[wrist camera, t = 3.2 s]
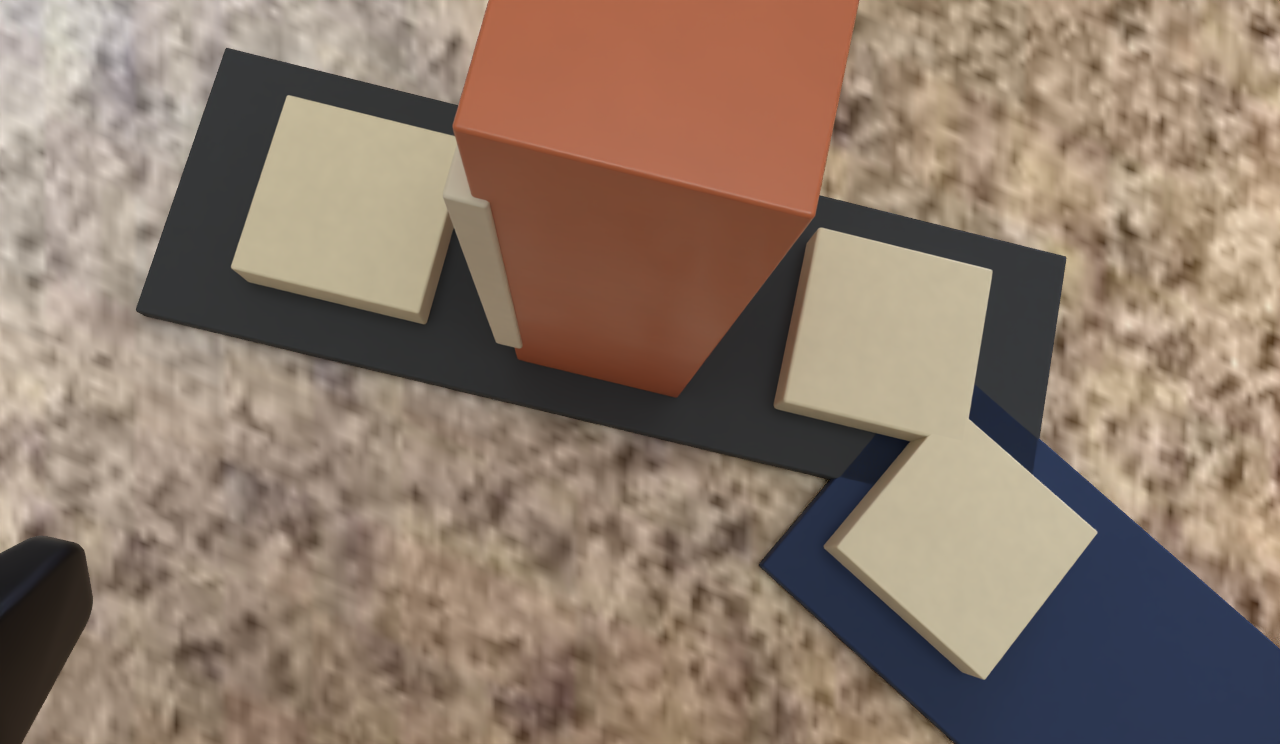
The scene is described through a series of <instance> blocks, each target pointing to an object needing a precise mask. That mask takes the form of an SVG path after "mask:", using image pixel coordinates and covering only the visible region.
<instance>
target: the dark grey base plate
mask: <svg viewBox="0 0 1280 744" xmlns="http://www.w3.org/2000/svg"><path fill="white" fill-rule="evenodd" d="M457 108H458V105H454V104H450V103H446V102H442V101H438V100H434V99H430V98H426V97H422V96H418V95H414V94H410V93H406V92H402V91H398V90H394V89H390V88H386V87H382V86H378V85H374V84H370V83H366V82H362V81H358V80H354V79H350V78H346V77H342V76H338V75H334V74H330V73H326V72H322V71H318V70H314V69H310V68H306V67H302V66H298V65H294V64H290V63H286V62H282V61H277V60H273V59H269V58H265V57H261V56H257V55H253V54H249V53H245V52H241V51H237V50H233V49H229V48H226V49H225V52H224V55H223V58H222V61H221V64H220V67H219V69H218V72H217V75H216V78H215V81H214V84H213V87H212V90H211V93H210V96H209V98H208V101H207V104H206V107H205V110H204V113H203V116H202V119H201V122H200V125H199V128H198V130H197V133H196V136H195V139H194V142H193V145H192V148H191V151H190V154H189V157H188V159H187V162H186V165H185V168H184V171H183V174H182V177H181V180H180V183H179V186H178V188H177V191H176V194H175V197H174V200H173V203H172V206H171V209H170V212H169V215H168V217H167V220H166V223H165V226H164V229H163V232H162V235H161V238H160V241H159V244H158V247H157V249H156V252H155V255H154V258H153V261H152V264H151V267H150V270H149V273H148V276H147V278H146V281H145V284H144V287H143V290H142V293H141V296H140V299H139V302H138V305H137V307H136V311H137V312H139V313H141V314H143V315H144V316H148V317H152V318H156V319H161V320H165V321H169V322H173V323H177V324H182V325H186V326H190V327H194V328H198V329H202V330H207V331H211V332H215V333H219V334H223V335H228V336H232V337H236V338H240V339H244V340H248V341H253V342H257V343H261V344H265V345H269V346H274V347H278V348H282V349H286V350H290V351H295V352H299V353H303V354H307V355H311V356H315V357H320V358H324V359H328V360H332V361H336V362H341V363H345V364H349V365H353V366H357V367H361V368H366V369H370V370H374V371H378V372H382V373H387V374H391V375H395V376H399V377H403V378H407V379H412V380H416V381H420V382H424V383H428V384H433V385H437V386H441V387H445V388H449V389H453V390H458V391H462V392H466V393H470V394H474V395H479V396H483V397H487V398H491V399H495V400H499V401H504V402H508V403H512V404H516V405H520V406H525V407H529V408H533V409H537V410H541V411H545V412H550V413H554V414H558V415H562V416H566V417H571V418H575V419H579V420H583V421H587V422H591V423H596V424H600V425H604V426H608V427H612V428H617V429H621V430H625V431H629V432H633V433H638V434H642V435H646V436H650V437H654V438H658V439H663V440H667V441H671V442H675V443H679V444H684V445H688V446H692V447H696V448H700V449H704V450H709V451H713V452H717V453H721V454H725V455H730V456H734V457H738V458H742V459H746V460H750V461H755V462H759V463H763V464H767V465H771V466H776V467H780V468H784V469H788V470H792V471H796V472H801V473H805V474H809V475H813V476H817V477H822V478H826V479H830V480H831V479H835V478H838V477H840V476H841V475H843V473H847V472H846V471H847V470H846V469H848V467H849V466H850V465H851V463H852V462H853V463H854V462H855V463H856V460H855V459H856V458H857V456H860V455H862V454H860V453H861V452H862V453H863V451H864V450H865V449H866V448H865V447H866V446H867V444H868V443H869V442H870V441H871V440H872V439H873V437H875V435H876V434H878V435H880V434H881V435H880V436H882V435H884V437H885V436H887V437H888V436H889V437H891V438H892V437H894V438H897V439H896V441H895V440H894V441H895V443H897V440H898V439H902V440H903V441H904V440H905V442H906V441H915V440H918V439H921V438H925V437H927V436H929V435H931V434H936V435H940V436H944V437H949V438H953V439H957V440H961V441H963V439H962V438H963V434H964V428H965V424H964V423H965V422H966V418H968V419H969V413H972V412H970V410H971V408H970V407H972V409H973V406H972V405H971V401H973V400H974V399H973V397H972V395H974V393H973V392H974V391H975V389H974V387H975V385H976V386H977V389H978V387H979V388H980V389H981V390H982V391H983V392H984V394H987V395H986V396H989V397H990V398H991V400H993V401H994V402H996V403H997V406H1000V409H1001V408H1003V409H1004V410H1005V411H1006V412H1007V415H1008V414H1009V415H1011V417H1013V419H1014V420H1016V421H1014V420H1012V419H1011V421H1013V422H1012V423H1014V422H1018V423H1020V425H1022V427H1023V428H1025V429H1027V430H1028V431H1029V432H1030V434H1032V435H1033V436H1035V437H1033V436H1032V435H1031V436H1032V437H1033V438H1034V439H1035V438H1037V439H1035V440H1037V441H1038V439H1039V438H1040V431H1041V424H1042V418H1043V411H1044V404H1045V397H1046V391H1047V384H1048V377H1049V371H1050V364H1051V357H1052V351H1053V344H1054V337H1055V331H1056V324H1057V317H1058V310H1059V304H1060V297H1061V290H1062V284H1063V277H1064V270H1065V264H1066V257H1065V256H1061V255H1057V254H1053V253H1049V252H1045V251H1041V250H1037V249H1033V248H1029V247H1025V246H1021V245H1017V244H1013V243H1009V242H1005V241H1001V240H997V239H993V238H989V237H985V236H981V235H977V234H973V233H969V232H965V231H961V230H957V229H953V228H949V227H945V226H941V225H937V224H933V223H929V222H925V221H921V220H917V219H912V218H908V217H904V216H900V215H896V214H892V213H888V212H884V211H880V210H876V209H872V208H868V207H864V206H860V205H856V204H852V203H848V202H844V201H840V200H836V199H832V198H828V197H824V196H820V195H819V199H818V204H817V209H816V214H815V217H814V218H813V219H812V221H811V222H810V223H809V225H808V226H807V227H806V229H805V230H804V231H803V233H802V234H801V235H800V237H799V238H798V239H797V240H796V242H795V243H794V244H793V246H792V247H791V248H790V250H789V251H788V252H787V254H786V255H785V256H784V258H783V259H782V260H781V262H780V263H779V264H778V266H777V267H776V268H775V269H774V271H773V272H772V273H771V275H770V276H769V277H768V279H767V280H766V281H765V283H764V284H763V285H762V287H761V288H760V289H759V291H758V292H757V293H756V295H755V296H754V297H753V298H752V300H751V301H750V302H749V304H748V305H747V306H746V308H745V309H744V310H743V312H742V313H741V314H740V316H739V317H738V318H737V320H736V321H735V322H734V324H733V325H732V326H731V327H730V329H729V330H728V331H727V333H726V334H725V335H724V337H723V338H722V339H721V341H720V342H719V343H718V345H717V346H716V347H715V349H714V350H713V351H712V353H711V354H710V355H709V356H708V358H707V359H706V360H705V362H704V363H703V364H702V366H701V367H700V368H699V370H698V371H697V372H696V374H695V375H694V376H693V378H692V379H691V380H690V382H689V383H688V384H687V385H686V387H685V388H684V389H683V391H682V392H681V393H680V395H679V396H678V397H677V398H675V397H671V396H667V395H662V394H658V393H654V392H650V391H646V390H642V389H638V388H633V387H629V386H625V385H621V384H617V383H613V382H608V381H604V380H600V379H596V378H592V377H588V376H583V375H579V374H575V373H571V372H567V371H563V370H559V369H554V368H550V367H546V366H542V365H538V364H534V363H529V362H525V361H521V360H518V359H517V355H516V352H515V348H514V347H510V346H506V345H502V344H498V343H496V341H495V338H494V335H493V333H492V330H491V327H490V325H489V322H488V319H487V316H486V314H485V311H484V308H483V305H482V303H481V300H480V297H479V294H478V292H477V289H476V286H475V284H474V281H473V278H472V275H471V273H470V270H469V267H468V264H467V262H466V259H465V256H464V253H463V251H462V248H461V245H460V243H459V240H458V237H457V234H456V232H455V229H454V226H453V223H452V221H451V218H450V215H449V213H448V210H447V207H446V204H445V202H444V199H443V191H444V187H445V184H446V180H447V177H448V173H449V170H450V166H451V163H452V159H453V156H454V152H455V149H456V145H457V142H456V138H455V135H454V131H453V122H454V119H455V115H456V112H457ZM974 384H975V385H974ZM975 388H976V387H975ZM973 389H974V391H973ZM977 389H976V390H977ZM977 392H978V391H977ZM979 392H980V391H979ZM977 394H978V393H977ZM979 395H980V394H979ZM979 395H976V397H977V396H978V397H979ZM978 397H977V399H978ZM979 398H981V397H979ZM972 399H973V400H972ZM975 399H976V398H975ZM987 399H988V398H987ZM982 400H983V399H982ZM984 400H985V399H984ZM984 400H983V401H984ZM991 400H990V402H991ZM988 401H989V400H988ZM977 402H979V400H978V401H977ZM990 402H989V404H992V403H990ZM994 402H993V403H994ZM985 403H986V402H985ZM996 403H995V405H996ZM973 404H974V402H973ZM975 404H976V403H975ZM977 404H978V403H977ZM983 404H984V403H982V404H981V406H982V405H983ZM989 404H987V405H989ZM979 406H980V405H979ZM979 406H978V405H977V407H979ZM991 406H992V405H991ZM991 406H990V407H991ZM997 406H996V407H997ZM975 407H976V406H975ZM975 407H974V408H975ZM984 407H985V408H986V405H985V406H984ZM992 407H993V406H992ZM996 407H995V408H996ZM980 408H981V407H980ZM980 408H979V409H980ZM986 409H987V408H986ZM991 410H992V408H991ZM995 410H996V409H995ZM997 410H998V408H997ZM971 411H972V410H971ZM973 411H975V409H974V410H973ZM981 411H983V410H980V412H981ZM989 411H990V410H989ZM989 411H988V412H989ZM993 411H994V409H993ZM999 411H1000V410H999ZM978 412H979V411H978ZM983 412H984V411H983ZM986 412H987V411H986ZM981 413H982V412H981ZM989 413H991V411H990V412H989ZM989 413H988V414H989ZM995 413H996V412H995ZM983 414H984V413H983ZM988 414H987V415H988ZM996 414H997V413H996ZM1002 414H1003V410H1002V413H1001V415H1002ZM972 415H973V413H972V414H971V416H972ZM975 415H976V416H977V415H978V414H976V413H975ZM980 415H982V414H980ZM999 415H1000V414H999ZM1003 415H1004V414H1003ZM1009 415H1008V416H1009ZM983 416H984V415H983ZM985 416H986V414H985ZM995 416H996V415H995ZM1005 416H1006V415H1005ZM952 417H953V418H952ZM973 417H974V416H973ZM978 417H979V418H980V417H981V416H977V418H978ZM986 417H988V418H989V416H986ZM990 417H992V416H990ZM974 418H975V417H974ZM983 418H984V417H983ZM988 418H987V419H988ZM996 418H997V416H996ZM1002 418H1003V416H1002ZM947 419H948V420H947ZM972 419H973V418H972ZM975 419H976V418H975ZM980 419H982V418H980ZM980 419H979V420H980ZM992 419H993V418H991V420H992ZM1006 419H1007V418H1006ZM1006 419H1005V420H1006ZM993 420H995V417H994V419H993ZM1007 420H1008V419H1007ZM976 421H978V420H976ZM989 421H990V420H989ZM1001 421H1002V419H1001ZM1008 421H1009V422H1010V420H1008ZM986 422H988V420H987V421H986ZM995 422H996V421H995ZM1006 422H1007V421H1005V423H1002V422H1001V424H1005V425H1006ZM980 423H981V422H980ZM982 423H983V422H982ZM992 423H993V421H992ZM1007 423H1008V422H1007ZM978 424H979V422H978ZM989 424H990V423H989ZM997 424H999V423H998V422H997ZM997 424H996V425H997ZM1014 424H1015V423H1014ZM976 425H977V424H976ZM983 425H984V424H983ZM985 425H987V424H986V423H985ZM1007 425H1009V424H1007ZM1010 425H1011V424H1010ZM1015 425H1016V424H1015ZM1018 425H1019V424H1018ZM1020 425H1019V426H1020ZM978 426H979V427H980V424H979V425H978ZM987 426H988V425H987ZM989 426H990V425H989ZM989 426H988V427H989ZM997 426H998V425H997ZM997 426H995V427H997ZM999 426H1001V425H1000V424H999ZM999 426H998V427H999ZM1013 426H1014V425H1013ZM1016 426H1017V425H1016ZM985 427H986V426H985ZM993 427H994V425H993ZM995 427H994V428H991V429H994V430H995ZM1002 427H1003V429H1005V428H1004V426H1003V425H1002ZM1006 427H1007V426H1006ZM1011 427H1012V425H1011ZM980 428H984V427H980ZM986 428H987V427H986ZM1009 428H1010V427H1009ZM1009 428H1008V429H1007V430H1008V433H1009ZM1012 428H1013V430H1012V431H1014V430H1015V429H1017V428H1018V427H1017V428H1015V429H1014V427H1012ZM1020 428H1021V426H1020ZM1023 428H1022V429H1023ZM1003 429H1002V428H1001V430H1003ZM1022 429H1020V430H1021V431H1022ZM983 430H984V429H983ZM987 430H990V427H989V429H987ZM987 430H986V431H987ZM996 430H998V429H996ZM1020 430H1019V431H1020ZM1027 430H1026V431H1027ZM986 431H985V432H986ZM1004 431H1005V430H1004ZM1012 431H1010V432H1012ZM983 432H984V431H983ZM985 432H984V433H985ZM989 433H990V431H989ZM992 433H993V432H991V434H992ZM1002 433H1003V434H1004V435H1005V434H1006V433H1005V432H1002ZM1002 433H1001V435H1002ZM1016 433H1017V431H1016ZM1026 433H1027V432H1026ZM986 434H987V433H986ZM995 434H996V433H995ZM997 434H998V433H997ZM997 434H996V435H997ZM1011 434H1012V433H1011ZM1018 434H1019V433H1018ZM1024 434H1025V433H1024ZM1024 434H1021V435H1024ZM878 435H877V436H876V437H875V438H878ZM987 435H989V434H987ZM1008 435H1009V434H1007V435H1005V436H1008ZM1013 435H1014V433H1013V434H1012V436H1013ZM1026 435H1027V434H1026ZM993 436H995V435H993ZM998 436H1000V433H999V435H998ZM1019 436H1020V435H1019ZM1019 436H1017V437H1019ZM1024 436H1025V435H1024ZM1031 436H1030V437H1029V438H1030V439H1031ZM882 437H883V436H882ZM884 437H883V439H884ZM889 437H888V438H889ZM996 437H997V436H996ZM1001 437H1003V435H1002V436H1000V438H1001ZM1022 437H1023V436H1021V438H1022ZM894 438H893V439H894ZM994 438H995V437H994ZM994 438H993V439H994ZM1000 438H999V439H1000ZM1006 438H1008V437H1006ZM1012 438H1013V437H1012ZM1014 438H1015V436H1014ZM1014 438H1013V439H1014ZM1029 438H1027V439H1028V440H1029ZM879 439H880V438H879ZM991 439H992V437H991ZM1003 439H1005V438H1003ZM1022 439H1025V438H1022ZM875 440H876V439H875ZM875 440H874V439H873V441H874V442H875ZM997 440H998V437H997ZM1010 440H1011V442H1013V441H1012V439H1010ZM1016 440H1017V439H1016ZM1016 440H1015V442H1016ZM1028 440H1027V441H1028ZM873 441H872V442H873ZM876 441H877V440H876ZM878 441H880V440H878ZM881 441H882V440H881ZM881 441H880V442H881ZM886 441H887V442H889V441H890V440H889V441H888V440H885V442H886ZM900 441H901V440H900ZM903 441H901V442H900V443H902V442H903ZM994 441H995V442H996V443H998V442H997V441H996V439H995V440H994ZM1006 441H1007V440H1006ZM1018 441H1019V439H1018ZM1020 441H1021V440H1020ZM1020 441H1019V442H1020ZM1031 441H1032V440H1031ZM887 442H886V443H885V444H882V443H881V444H882V445H884V446H883V448H884V447H885V448H886V446H887V447H888V445H886V444H887ZM892 442H893V441H892ZM1007 442H1008V441H1007ZM1021 442H1022V441H1021ZM883 443H884V442H883ZM889 443H890V442H889ZM895 443H894V445H895ZM906 443H907V442H906ZM909 443H910V442H909ZM1001 443H1002V441H1001ZM1001 443H998V444H1001ZM1008 443H1009V444H1011V443H1010V442H1008ZM1017 443H1018V442H1017ZM1022 443H1023V442H1022ZM1024 443H1025V442H1024ZM1029 443H1030V442H1029ZM1029 443H1028V445H1030V444H1031V443H1032V442H1031V443H1030V444H1029ZM1035 443H1036V441H1035ZM1035 443H1034V444H1035ZM869 444H870V443H869ZM874 444H875V443H874ZM877 444H878V443H877ZM881 444H880V443H879V445H880V448H881ZM890 444H891V443H890ZM897 444H898V443H897ZM902 444H903V443H902ZM1002 444H1003V445H1004V444H1005V443H1002ZM1002 444H1001V446H1002ZM1015 444H1016V443H1015ZM1019 444H1020V443H1019ZM1019 444H1018V445H1019ZM1026 444H1027V443H1026ZM1026 444H1025V445H1026ZM1034 444H1033V443H1032V445H1033V446H1034ZM871 445H872V444H871ZM875 445H876V444H875ZM879 445H878V446H879ZM885 445H886V446H885ZM891 445H892V444H891ZM899 445H900V444H899ZM904 445H905V444H904ZM904 445H903V446H904ZM907 445H908V443H907ZM1005 445H1006V446H1007V443H1006V444H1005ZM1012 445H1013V444H1012ZM1012 445H1011V447H1012ZM1020 445H1021V444H1020ZM869 446H870V445H869ZM876 446H877V445H876ZM876 446H875V448H876ZM905 446H906V445H905ZM999 446H1000V445H999ZM1006 446H1005V447H1006ZM1021 446H1022V445H1021ZM1026 446H1027V445H1026ZM871 447H872V448H873V446H870V448H871ZM897 447H898V446H897ZM1018 447H1019V446H1018ZM1034 447H1035V446H1034ZM1034 447H1033V449H1032V450H1033V451H1034ZM870 448H867V449H869V450H870ZM875 448H873V449H872V450H874V451H875ZM877 448H878V447H877ZM889 448H890V449H891V447H889ZM899 448H900V446H899V447H898V449H899ZM1003 448H1004V446H1003ZM1006 448H1008V447H1006ZM1006 448H1005V449H1006ZM1022 448H1023V447H1022ZM1027 448H1028V447H1027ZM1027 448H1026V449H1027ZM1030 448H1031V447H1030ZM1035 448H1037V447H1035ZM863 449H864V450H863ZM892 449H893V448H892ZM892 449H891V450H892ZM900 449H901V448H900ZM900 449H899V450H900ZM1005 449H1004V450H1005ZM1008 449H1009V448H1008ZM1013 449H1014V448H1013ZM1015 449H1016V447H1015ZM862 450H863V451H862ZM872 450H870V452H871V451H872ZM885 450H886V449H885ZM903 450H904V448H903ZM1010 450H1011V449H1010ZM1020 450H1021V452H1022V449H1021V448H1020ZM1032 450H1031V451H1032ZM867 451H868V450H867ZM887 451H888V450H887ZM887 451H886V452H887ZM897 451H898V450H897ZM897 451H896V448H895V452H897ZM1008 451H1009V450H1008ZM1014 451H1015V450H1014ZM1014 451H1013V452H1014ZM1016 451H1018V450H1017V449H1016ZM1024 451H1025V452H1026V450H1025V449H1024ZM1029 451H1030V450H1029ZM1031 451H1030V453H1031ZM875 452H877V451H875ZM875 452H873V458H874V459H875V457H879V455H878V456H877V455H875V454H874V453H875ZM881 452H882V451H881ZM881 452H878V453H879V454H880V453H881ZM886 452H885V453H886ZM898 452H899V451H898ZM1021 452H1019V451H1018V454H1019V453H1021ZM1027 452H1028V451H1027ZM865 453H866V452H865ZM868 453H869V452H868ZM871 453H872V452H871ZM883 453H884V451H883V452H882V454H883ZM893 453H894V450H893ZM900 453H901V452H900ZM1008 453H1009V452H1008ZM1010 453H1011V452H1010ZM1030 453H1029V455H1028V457H1029V456H1030V455H1031V454H1030ZM1034 453H1036V452H1035V451H1034ZM869 454H870V453H869ZM882 454H881V456H882ZM887 454H888V453H887ZM889 454H892V453H890V452H889ZM889 454H888V455H889ZM898 454H899V453H898ZM1014 454H1015V452H1014ZM1014 454H1011V455H1014ZM1021 454H1022V453H1021ZM1021 454H1020V455H1021ZM863 455H864V453H863ZM874 455H875V457H874ZM893 455H894V454H893ZM896 455H897V454H896ZM899 455H900V454H899ZM899 455H898V456H899ZM1020 455H1019V456H1020ZM1022 455H1023V456H1025V455H1024V454H1022ZM1022 455H1021V456H1022ZM865 456H869V455H865ZM881 456H880V457H881ZM883 456H885V455H883ZM883 456H882V457H883ZM891 456H892V455H891ZM1014 456H1015V455H1014ZM1031 456H1033V455H1031ZM860 457H861V458H860V460H858V461H861V459H862V458H863V457H862V456H860ZM870 457H871V456H870ZM870 457H869V458H870ZM880 457H879V458H878V460H879V459H880ZM882 457H881V458H882ZM888 457H890V455H889V456H887V459H885V460H888V459H889V458H888ZM892 457H893V456H892ZM892 457H891V459H892ZM1015 457H1016V456H1015ZM1034 457H1035V456H1034ZM864 458H865V457H864ZM883 458H884V457H883ZM1023 458H1024V457H1023ZM1025 458H1026V457H1025ZM1025 458H1024V459H1025ZM857 459H859V458H857ZM865 459H866V458H865ZM867 459H868V457H867ZM867 459H866V460H865V461H866V462H865V461H864V459H862V460H863V461H864V462H865V463H866V464H868V462H869V461H867ZM871 459H872V457H871ZM1014 459H1015V458H1014ZM1016 459H1019V458H1017V457H1016ZM1021 459H1022V458H1021ZM1029 459H1031V458H1030V457H1029ZM1029 459H1028V460H1029ZM1033 459H1035V458H1033ZM854 460H855V461H854ZM868 460H870V459H868ZM878 460H877V461H878ZM880 460H881V461H882V462H883V460H882V459H880ZM1022 460H1023V459H1022ZM1025 460H1026V461H1027V459H1025ZM858 461H857V464H858ZM873 461H874V460H873ZM888 461H890V459H889V460H888ZM893 461H894V459H893ZM1016 461H1017V460H1016ZM1018 461H1020V460H1018ZM1029 461H1030V460H1029ZM1029 461H1028V462H1026V463H1027V464H1028V463H1029ZM1031 461H1032V459H1031ZM1034 461H1035V460H1034ZM875 462H876V459H875ZM882 462H881V463H882ZM890 462H891V461H890ZM1021 462H1022V461H1021ZM1023 462H1025V461H1023ZM853 463H852V464H853ZM877 463H880V462H877ZM883 463H885V462H883ZM887 463H888V462H887ZM892 463H893V462H891V464H892ZM1032 463H1033V462H1032ZM859 464H861V462H859ZM869 464H870V462H869ZM1027 464H1026V465H1027ZM853 465H854V464H853ZM853 465H852V466H853ZM855 465H856V464H855ZM861 465H862V464H861ZM873 465H874V464H873ZM875 465H876V463H875ZM875 465H874V466H875ZM881 465H882V464H881ZM884 465H886V464H884ZM884 465H883V467H884ZM1029 465H1030V464H1029ZM1031 465H1032V464H1031ZM1033 465H1034V463H1033ZM1033 465H1032V466H1033ZM862 466H863V465H862ZM865 466H866V465H865ZM865 466H864V467H865ZM867 466H868V467H869V465H867ZM870 466H871V464H870ZM879 466H880V465H879ZM879 466H878V465H877V467H878V468H880V467H881V466H880V467H879ZM850 467H851V466H850ZM850 467H849V468H850ZM864 467H863V470H864V471H865V470H868V467H866V468H867V469H864ZM877 467H875V468H877ZM883 467H882V468H883ZM885 467H886V466H885ZM885 467H884V468H885ZM887 467H888V468H889V465H887ZM1029 467H1030V466H1029ZM855 468H856V467H855ZM857 468H858V466H857ZM1025 468H1027V467H1025ZM853 469H854V467H853ZM873 469H874V468H872V466H871V470H872V471H873ZM880 469H881V468H880ZM1030 469H1031V472H1032V467H1031V468H1030ZM845 470H846V471H845ZM849 470H850V469H849ZM857 470H859V468H858V469H857ZM869 470H870V468H869ZM875 470H876V469H875ZM875 470H874V472H875ZM886 470H887V469H886V468H885V471H886ZM852 471H853V473H854V470H852ZM859 471H860V470H859ZM880 471H881V470H880ZM883 471H884V469H883ZM1028 471H1030V470H1029V469H1028ZM850 472H851V471H850ZM857 472H858V471H857ZM860 472H861V474H862V469H861V471H860ZM867 472H868V473H869V472H870V471H867ZM851 473H852V472H851ZM851 473H850V474H851ZM855 473H856V472H855ZM855 473H854V474H855ZM858 473H859V472H858ZM863 473H864V472H863ZM879 473H880V472H879ZM882 473H883V472H882ZM848 474H849V471H848ZM848 474H847V475H848ZM850 474H849V476H850ZM864 474H865V473H864ZM872 474H874V473H873V472H872ZM876 474H877V473H876ZM876 474H875V475H876ZM883 474H884V473H883ZM883 474H882V475H883ZM855 475H856V474H855ZM855 475H854V476H855ZM858 475H859V474H858ZM866 475H867V474H866ZM868 475H869V474H868ZM870 475H871V474H870ZM875 475H874V476H875ZM880 475H881V474H880ZM845 476H846V475H845ZM856 476H857V475H856ZM860 476H861V475H860ZM862 476H863V474H862ZM864 476H865V475H864ZM874 476H873V477H874ZM843 477H844V475H843ZM843 477H842V478H843ZM847 477H848V476H847ZM852 477H853V475H852V476H851V478H852ZM858 477H859V476H858ZM868 477H869V476H868ZM868 477H867V480H865V479H866V478H865V479H864V478H863V477H862V478H863V479H864V480H865V483H866V482H868ZM880 477H881V476H880ZM848 478H849V477H848ZM859 478H860V477H859ZM869 478H870V477H869ZM877 478H878V476H877ZM856 479H857V478H855V479H854V480H855V481H856ZM872 479H873V480H874V478H872ZM852 480H853V479H852ZM870 480H871V478H870ZM858 481H859V479H858ZM871 481H872V480H871ZM860 482H863V481H860ZM874 482H875V481H874ZM868 483H869V482H868ZM869 484H871V483H869ZM872 485H873V484H872Z"/></svg>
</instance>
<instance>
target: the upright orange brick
mask: <svg viewBox="0 0 1280 744" xmlns="http://www.w3.org/2000/svg"><path fill="white" fill-rule="evenodd" d="M858 4H859V0H489V1H488V4H487V8H486V11H485V15H484V18H483V22H482V25H481V29H480V32H479V36H478V39H477V42H476V46H475V49H474V53H473V56H472V60H471V63H470V67H469V70H468V74H467V77H466V81H465V84H464V88H463V91H462V94H461V98H460V101H459V105H458V108H457V112H456V115H455V119H454V122H453V131H454V135H455V138H456V142H457V145H456V149H455V152H454V156H453V159H452V163H451V166H450V170H449V173H448V177H447V180H446V184H445V187H444V191H443V199H444V202H445V204H446V207H447V210H448V213H449V215H450V218H451V221H452V223H453V226H454V229H455V232H456V234H457V237H458V240H459V243H460V245H461V248H462V251H463V253H464V256H465V259H466V262H467V264H468V267H469V270H470V273H471V275H472V278H473V281H474V284H475V286H476V289H477V292H478V294H479V297H480V300H481V303H482V305H483V308H484V311H485V314H486V316H487V319H488V322H489V325H490V327H491V330H492V333H493V335H494V338H495V341H496V343H498V344H502V345H506V346H510V347H514V348H515V352H516V355H517V359H518V360H521V361H525V362H529V363H534V364H538V365H542V366H546V367H550V368H554V369H559V370H563V371H567V372H571V373H575V374H579V375H583V376H588V377H592V378H596V379H600V380H604V381H608V382H613V383H617V384H621V385H625V386H629V387H633V388H638V389H642V390H646V391H650V392H654V393H658V394H662V395H667V396H671V397H675V398H677V397H678V396H679V395H680V393H681V392H682V391H683V389H684V388H685V387H686V385H687V384H688V383H689V382H690V380H691V379H692V378H693V376H694V375H695V374H696V372H697V371H698V370H699V368H700V367H701V366H702V364H703V363H704V362H705V360H706V359H707V358H708V356H709V355H710V354H711V353H712V351H713V350H714V349H715V347H716V346H717V345H718V343H719V342H720V341H721V339H722V338H723V337H724V335H725V334H726V333H727V331H728V330H729V329H730V327H731V326H732V325H733V324H734V322H735V321H736V320H737V318H738V317H739V316H740V314H741V313H742V312H743V310H744V309H745V308H746V306H747V305H748V304H749V302H750V301H751V300H752V298H753V297H754V296H755V295H756V293H757V292H758V291H759V289H760V288H761V287H762V285H763V284H764V283H765V281H766V280H767V279H768V277H769V276H770V275H771V273H772V272H773V271H774V269H775V268H776V267H777V266H778V264H779V263H780V262H781V260H782V259H783V258H784V256H785V255H786V254H787V252H788V251H789V250H790V248H791V247H792V246H793V244H794V243H795V242H796V240H797V239H798V238H799V237H800V235H801V234H802V233H803V231H804V230H805V229H806V227H807V226H808V225H809V223H810V222H811V221H812V219H813V218H814V217H815V214H816V209H817V204H818V199H819V195H820V190H821V185H822V180H823V175H824V170H825V165H826V160H827V156H828V151H829V146H830V141H831V136H832V131H833V126H834V121H835V117H836V112H837V107H838V102H839V97H840V92H841V87H842V82H843V78H844V73H845V68H846V63H847V58H848V53H849V48H850V43H851V38H852V34H853V29H854V24H855V19H856V14H857V9H858Z"/></svg>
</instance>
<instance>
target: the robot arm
mask: <svg viewBox="0 0 1280 744" xmlns="http://www.w3.org/2000/svg"><path fill="white" fill-rule="evenodd" d="M92 605H93V595H92V590H91V584H90V578H89V573H88V567H87V561H86V556H85V552H84V550H83V548H82V547H81V546H80V545H79V544H77V543H74V542H70V541H66V540H61V539H57V538H53V537H48V536H36V537H33V538H29V539H27V540H25V541H23V542H21V543H19V544H17V545H15V546H13V547H11V548H10V549H8V550H6V551H4V552H2V553H0V744H22V742H23V740H24V738H25V736H26V735H27V733H28V731H29V729H30V727H31V725H32V724H33V722H34V720H35V718H36V716H37V714H38V712H39V711H40V709H41V707H42V705H43V703H44V701H45V700H46V698H47V696H48V694H49V692H50V690H51V689H52V687H53V685H54V683H55V681H56V679H57V677H58V676H59V674H60V672H61V670H62V668H63V666H64V665H65V663H66V661H67V659H68V657H69V655H70V654H71V652H72V650H73V648H74V646H75V644H76V642H77V641H78V639H79V637H80V635H81V633H82V631H83V630H84V628H85V626H86V624H87V622H88V619H89V617H90V614H91V610H92Z"/></svg>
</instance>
